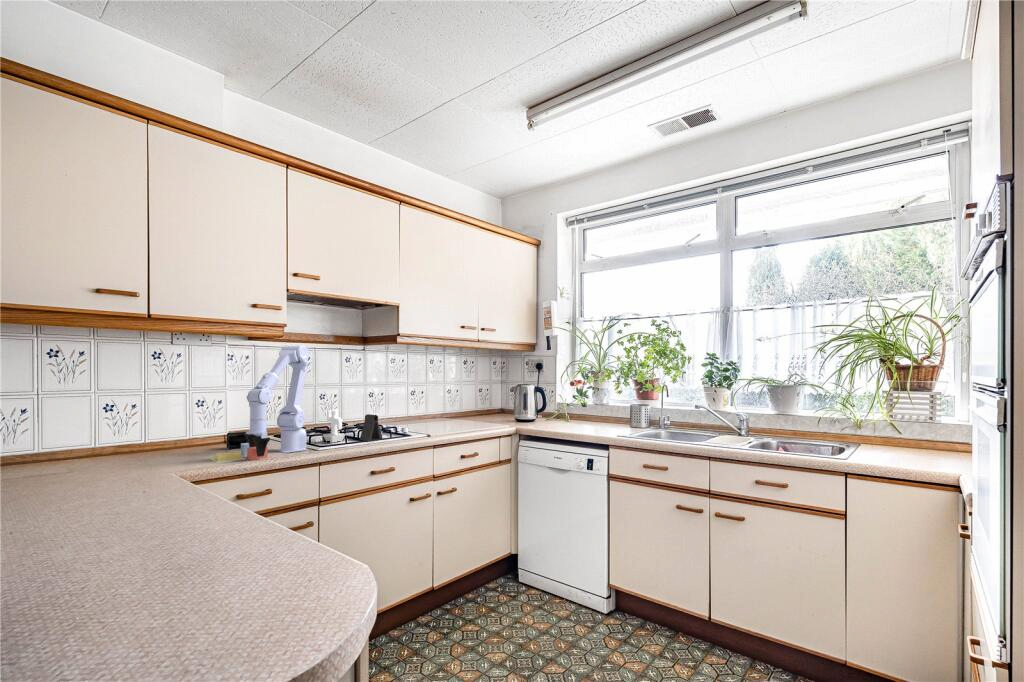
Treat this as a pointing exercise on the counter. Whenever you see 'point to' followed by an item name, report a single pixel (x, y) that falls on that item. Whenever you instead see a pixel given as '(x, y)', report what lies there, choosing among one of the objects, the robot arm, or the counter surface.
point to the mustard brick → (228, 456)
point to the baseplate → (226, 460)
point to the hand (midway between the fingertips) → (257, 455)
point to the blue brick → (244, 448)
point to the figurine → (334, 426)
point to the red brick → (255, 453)
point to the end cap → (236, 440)
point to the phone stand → (371, 429)
